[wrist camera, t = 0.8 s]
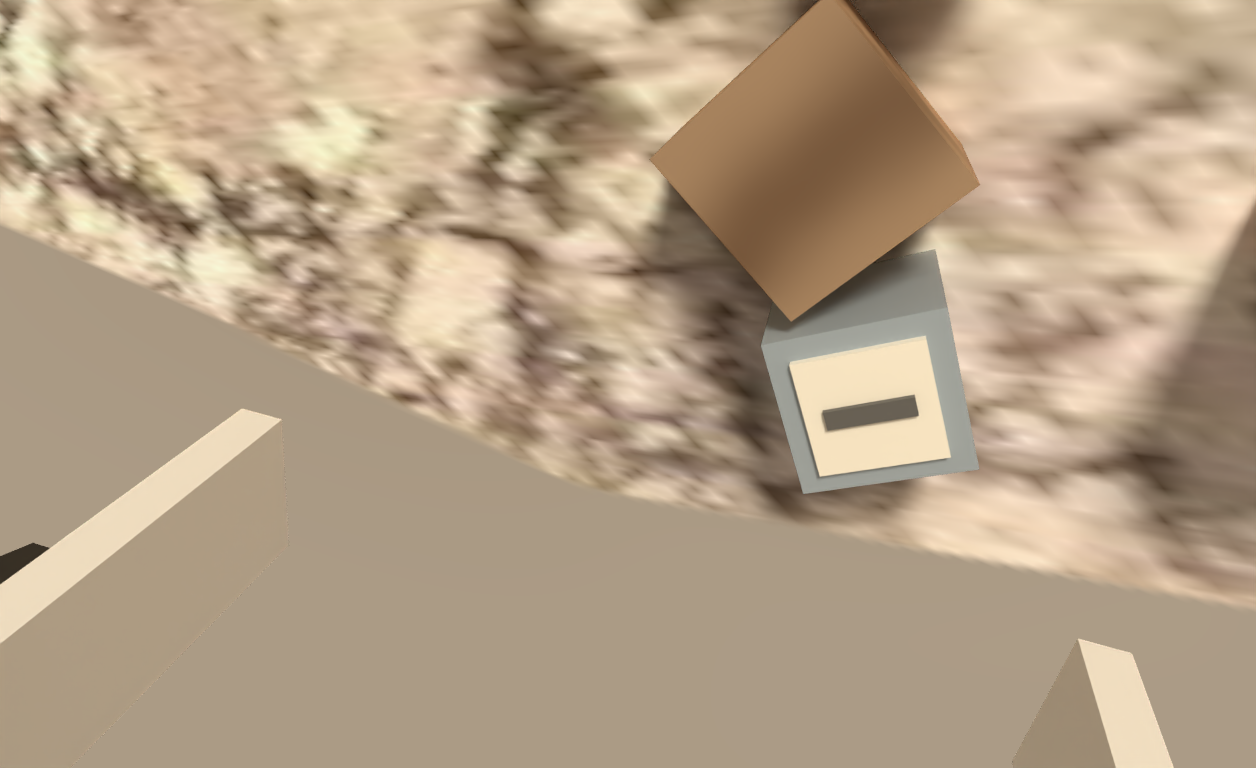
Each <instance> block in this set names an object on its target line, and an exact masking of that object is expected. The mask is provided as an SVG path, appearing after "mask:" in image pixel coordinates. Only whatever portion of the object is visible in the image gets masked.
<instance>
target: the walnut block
mask: <svg viewBox="0 0 1256 768" xmlns="http://www.w3.org/2000/svg"><path fill="white" fill-rule="evenodd" d="M649 160H650V161H651V162H652V163H653V164H654V165H655V166H656V168H657V169H658V170H659V171H660V172H661V173H662V174H663V176H664V177H665V178H666V179H667V180H668V181H669V182H670V184H671V185H672V186H673V187H674V188H675V189H676V190H677V192H678V193H679V194H680V195H681V196H682V197H683V199H684V200H685V201H686V202H687V203H688V204H689V205H690V207H691V208H692V209H693V210H694V211H695V212H696V213H697V215H698V216H699V217H700V218H701V219H702V220H703V221H704V223H705V224H706V225H707V226H708V227H709V228H710V229H711V231H712V232H713V233H714V234H715V235H716V236H717V237H718V239H719V240H720V241H721V242H722V243H723V244H724V245H725V247H726V248H727V249H728V250H729V251H730V252H731V254H732V255H733V256H734V257H735V258H736V259H737V260H738V262H739V263H740V264H741V265H742V266H743V267H744V268H745V270H746V271H747V272H748V273H749V274H750V275H751V276H752V278H753V279H754V280H755V281H756V282H757V283H758V284H759V286H760V287H761V288H762V289H763V290H764V291H765V292H766V294H767V295H768V296H769V297H770V298H771V299H772V300H773V302H774V303H775V304H776V305H777V306H778V307H779V309H780V310H781V311H782V312H783V313H784V314H785V315H786V317H787V318H788V319H789V320H790V321H791V322H792V321H793V320H794V319H796V318H797V317H798V316H800V315H801V314H803V313H804V312H805V311H807V310H808V309H809V308H811V307H812V306H814V305H815V304H816V303H818V302H819V301H820V300H822V299H823V298H825V297H826V296H827V295H829V294H830V293H832V292H833V291H834V290H836V289H837V288H838V287H840V286H841V285H843V284H844V283H845V282H847V281H848V280H849V279H851V278H852V277H854V276H855V275H856V274H858V273H859V272H860V271H862V270H863V269H865V268H866V267H867V266H869V265H870V264H872V263H873V262H874V261H876V260H877V259H878V258H880V257H881V256H883V255H884V254H885V253H887V252H888V251H889V250H891V249H892V248H894V247H895V246H896V245H898V244H899V243H900V242H902V241H903V240H905V239H906V238H907V237H909V236H910V235H912V234H913V233H914V232H916V231H917V230H918V229H920V228H921V227H923V226H924V225H925V224H927V223H928V222H929V221H931V220H932V219H934V218H935V217H936V216H938V215H939V214H940V213H942V212H943V211H945V210H946V209H947V208H949V207H950V206H951V205H953V204H954V203H956V202H957V201H958V200H960V199H961V198H963V197H964V196H965V195H967V194H968V193H969V192H971V191H972V190H974V189H975V188H976V187H978V186H979V185H980V184H979V181H978V179H977V177H976V175H975V173H974V170H973V168H972V166H971V164H970V162H969V159H968V157H967V155H966V153H965V151H964V148H963V146H962V144H961V143H960V141H959V140H958V139H957V138H956V136H955V135H954V134H953V133H952V131H951V130H950V129H949V127H948V126H947V125H946V124H945V122H944V121H943V120H942V119H941V117H940V116H939V115H938V113H937V112H936V111H935V110H934V108H933V107H932V106H931V105H930V103H929V102H928V101H927V99H926V98H925V97H924V96H923V94H922V93H921V92H920V91H919V89H918V88H917V87H916V85H915V84H914V83H913V82H912V80H911V79H910V78H909V77H908V75H907V74H906V73H905V71H904V70H903V69H902V68H901V66H900V65H899V64H898V63H897V61H896V60H895V59H894V57H893V56H892V55H891V54H890V52H889V51H888V50H887V49H886V47H885V46H884V45H883V43H882V42H881V41H880V40H879V38H878V37H877V36H876V35H875V33H874V32H873V31H872V29H871V28H870V27H869V26H868V24H867V23H866V22H865V21H864V19H863V18H862V17H861V15H860V14H859V13H858V12H857V10H856V9H855V8H854V7H853V5H852V4H851V3H850V1H849V0H819V1H818V2H816V3H815V4H814V5H813V6H812V7H811V8H810V9H809V10H808V11H807V12H806V13H805V14H804V15H802V16H801V17H800V18H799V19H798V20H797V21H796V22H795V23H794V24H793V25H792V26H791V27H790V28H788V29H787V30H786V31H785V32H784V33H783V34H782V35H781V36H780V37H779V38H778V39H777V40H775V41H774V42H773V43H772V44H771V45H770V46H769V47H768V48H767V49H766V50H765V51H764V52H763V53H761V54H760V55H759V56H758V57H757V58H756V59H755V60H754V61H753V62H752V63H751V64H750V65H749V66H747V67H746V68H745V69H744V70H743V71H742V72H741V73H740V74H739V75H738V76H737V77H736V78H735V79H733V80H732V81H731V82H730V83H729V84H728V85H727V86H726V87H725V88H724V89H723V90H722V91H721V92H719V93H718V94H717V95H716V96H715V97H714V98H713V99H712V100H711V101H710V102H709V103H708V104H706V105H705V106H704V107H703V108H702V109H701V110H700V111H699V112H698V113H697V114H696V115H695V116H694V117H692V118H691V119H690V120H689V121H688V122H687V123H686V124H685V125H684V126H683V127H682V128H681V129H680V130H679V131H678V132H677V133H676V134H675V135H674V136H673V137H672V138H671V139H670V140H669V141H668V142H667V143H666V144H665V145H664V146H663V147H662V148H661V149H660V150H659V151H658V152H657V153H656V154H655V155H654V156H652V157H651V158H650V159H649Z"/></svg>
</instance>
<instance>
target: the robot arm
mask: <svg viewBox="0 0 1256 768" xmlns="http://www.w3.org/2000/svg"><path fill="white" fill-rule="evenodd" d="M288 545H289V540H288V522H287V503H286V486H285V467H284V449H283V430H282V419H278V418H274V417H271V416H267V415H264V414H260V413H256V412H253V411H249V410H245V409H241V410H239V411H238V412H237V413H235V414H234V415H233V416H231V417H230V418H228V419H227V420H226V421H224V422H223V423H221V424H220V425H219V426H218V427H216V428H215V429H213V430H212V431H211V432H209V433H208V434H206V435H205V436H204V437H202V438H201V439H199V440H198V441H197V442H195V443H194V444H193V445H191V446H190V447H189V448H187V449H186V450H184V451H183V452H182V453H180V454H179V455H178V456H176V457H175V458H174V459H172V460H171V461H169V462H168V463H167V464H165V465H164V466H162V467H161V468H160V469H158V470H157V471H156V472H154V473H153V474H151V475H150V476H149V477H148V478H146V479H145V480H143V481H142V482H140V483H139V484H138V485H136V486H135V487H134V488H132V489H131V490H129V491H128V492H127V493H125V494H124V495H123V496H121V497H120V498H118V499H117V500H116V501H114V502H113V503H112V504H110V505H109V506H107V507H106V508H105V509H103V510H102V511H101V512H99V513H98V514H96V515H95V516H94V517H92V518H91V519H90V520H88V521H87V522H85V523H84V524H83V525H81V526H80V527H79V528H77V529H76V530H74V531H73V532H72V533H70V534H69V535H68V536H66V537H65V538H64V539H62V540H61V541H59V542H58V543H57V544H56V545H54V546H53V547H51V548H48V547H45V546H41V545H38V544H35V543H32V544H29V545H27V546H24V547H22V548H19V549H17V550H14V551H12V552H10V553H7V554H5V555H3V556H0V768H71V767H72V766H73V765H74V764H75V763H76V761H78V759H80V758H81V756H83V754H85V752H86V751H87V750H88V749H89V748H90V747H91V746H92V745H93V744H94V743H95V742H96V741H97V740H98V739H99V738H100V737H101V736H102V735H103V734H104V733H105V732H106V731H107V730H108V729H109V728H110V727H111V726H112V725H113V724H114V723H115V722H116V721H117V720H118V719H119V718H120V717H121V716H122V715H123V714H124V713H125V712H126V711H127V710H128V709H129V707H130V706H132V705H133V704H134V703H135V702H136V700H137V699H138V698H139V697H140V696H141V695H142V694H143V693H144V692H145V691H146V690H147V689H148V688H149V687H150V686H151V685H152V684H153V683H154V682H155V681H156V680H157V679H158V678H159V677H160V676H161V675H162V674H163V673H164V672H165V671H166V670H167V669H168V668H169V667H170V666H171V665H172V664H173V663H174V662H175V661H176V660H177V659H178V658H179V657H180V656H181V655H182V654H183V653H184V652H185V650H186V649H187V648H188V647H189V646H190V645H191V644H192V643H193V642H194V641H195V640H196V639H197V638H198V637H199V636H200V635H201V634H202V633H203V632H204V631H205V630H206V629H207V628H208V627H209V626H210V625H211V624H212V623H213V622H214V621H215V620H216V619H217V618H218V617H219V616H220V615H221V614H222V613H223V612H224V611H225V610H226V609H227V608H228V607H229V606H230V605H231V604H232V603H233V602H234V601H235V599H236V598H238V596H239V595H240V594H241V593H242V592H243V591H244V590H245V589H246V588H247V587H248V586H249V585H250V584H251V583H252V582H253V581H254V580H255V579H256V578H257V577H258V576H259V575H260V574H261V573H262V572H263V571H264V570H265V569H266V568H267V567H268V566H269V565H270V564H271V563H272V562H273V561H274V560H275V559H276V558H277V557H278V556H279V555H280V554H281V553H282V552H283V551H284V550H285V549H286V548H287V547H288ZM1012 763H1013V768H1174V767H1173V765H1172V762H1171V760H1170V756H1169V754H1168V751H1167V748H1166V746H1165V743H1164V740H1163V737H1162V735H1161V732H1160V729H1159V726H1158V724H1157V721H1156V718H1155V715H1154V713H1153V710H1152V707H1151V704H1150V702H1149V699H1148V696H1147V694H1146V691H1145V688H1144V685H1143V682H1142V680H1141V677H1140V674H1139V672H1138V669H1137V666H1136V664H1135V661H1134V658H1133V655H1132V653H1128V652H1125V651H1121V650H1118V649H1114V648H1110V647H1106V646H1103V645H1099V644H1096V643H1092V642H1088V641H1085V640H1081V639H1077V641H1076V643H1075V645H1074V647H1073V649H1072V650H1071V652H1070V654H1069V656H1068V658H1067V660H1066V662H1065V663H1064V665H1063V667H1062V669H1061V671H1060V673H1059V675H1058V676H1057V678H1056V681H1055V682H1054V684H1053V686H1052V688H1051V690H1050V691H1049V693H1048V696H1047V697H1046V699H1045V701H1044V703H1043V705H1042V706H1041V708H1040V710H1039V712H1038V714H1037V716H1036V718H1035V719H1034V722H1033V723H1032V725H1031V727H1030V729H1029V731H1028V733H1027V735H1026V737H1025V738H1024V740H1023V742H1022V744H1021V746H1020V748H1019V750H1018V751H1017V753H1016V755H1015V757H1014V759H1013V761H1012Z"/></svg>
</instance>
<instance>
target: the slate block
mask: <svg viewBox="0 0 1256 768" xmlns="http://www.w3.org/2000/svg"><path fill="white" fill-rule="evenodd" d="M761 348H762V351H763V355H764V358H765V362H766V365H767V369H768V372H769V376H770V379H771V383H772V386H773V390H774V393H775V397H776V400H777V404H778V407H779V411H780V414H781V418H782V421H783V425H784V428H785V432H786V435H787V439H788V442H789V446H790V449H791V453H792V456H793V460H794V463H795V467H796V470H797V474H798V477H799V481H800V484H801V488H802V491H803V494H807V493H814V492H821V491H829V490H836V489H843V488H850V487H857V486H864V485H871V484H879V483H886V482H893V481H900V480H907V479H914V478H922V477H929V476H936V475H943V474H950V473H957V472H965V471H972V470H979V465H978V460H977V455H976V450H975V445H974V440H973V435H972V430H971V425H970V419H969V414H968V409H967V404H966V399H965V394H964V389H963V384H962V379H961V374H960V368H959V363H958V358H957V353H956V348H955V343H954V338H953V333H952V328H951V323H950V318H949V312H948V307H947V303H946V298H945V293H944V288H943V284H942V279H941V274H940V269H939V265H938V260H937V255H936V251H935V250H930V251H926V252H921V253H917V254H913V255H908V256H904V257H899V258H895V259H891V260H886V261H882V262H877V263H873V264H870V265H869V266H867V267H866V268H865V269H863V270H862V271H860V272H859V273H858V274H856V275H855V276H854V277H852V278H851V279H849V280H848V281H847V282H845V283H844V284H843V285H841V286H840V287H838V288H837V289H836V290H834V291H833V292H832V293H830V294H829V295H827V296H826V297H825V298H823V299H822V300H820V301H819V302H818V303H816V304H815V305H814V306H812V307H811V308H809V309H808V310H807V311H805V312H804V313H803V314H801V315H800V316H798V317H797V318H796V319H794V320H793V321H792V322H791V321H790V320H789V319H788V318H787V317H786V315H785V314H784V313H783V312H782V311H781V310H780V309H779V307H778V306H777V305H776V304H775V303H774V302H772V306H771V310H770V313H769V317H768V321H767V324H766V328H765V332H764V335H763V339H762V343H761Z"/></svg>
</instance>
